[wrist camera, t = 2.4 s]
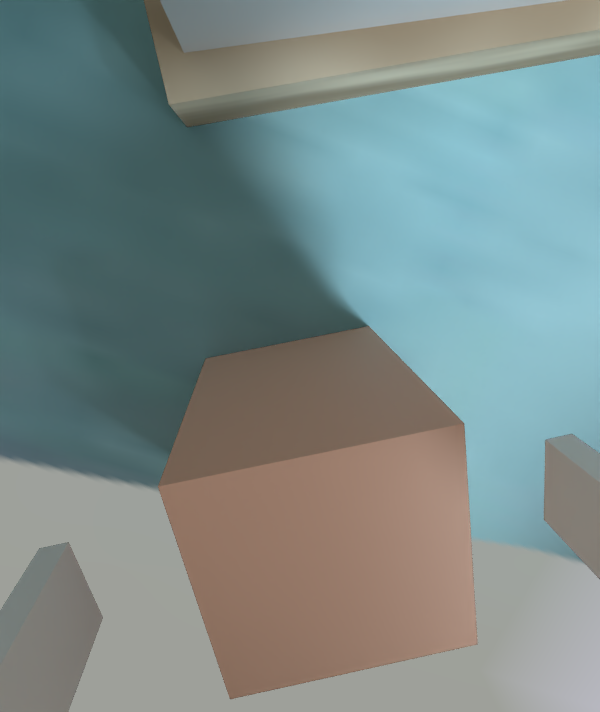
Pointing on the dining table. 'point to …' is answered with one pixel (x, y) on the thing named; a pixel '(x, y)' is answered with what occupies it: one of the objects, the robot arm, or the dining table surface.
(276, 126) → the dining table surface
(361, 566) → the terracotta block
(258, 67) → the tower base
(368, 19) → the tower top
